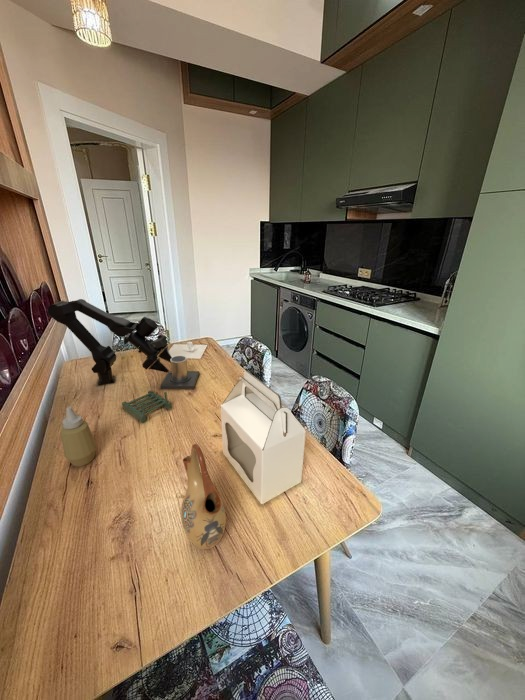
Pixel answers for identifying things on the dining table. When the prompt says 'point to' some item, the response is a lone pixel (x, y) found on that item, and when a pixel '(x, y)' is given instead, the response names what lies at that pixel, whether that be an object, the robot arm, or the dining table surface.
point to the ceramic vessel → (201, 504)
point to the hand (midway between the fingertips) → (171, 367)
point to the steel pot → (179, 368)
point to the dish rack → (150, 395)
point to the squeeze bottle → (77, 439)
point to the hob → (184, 384)
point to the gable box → (262, 438)
